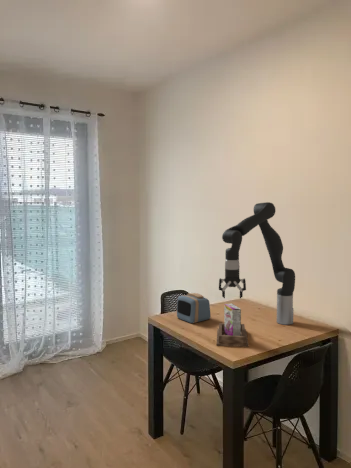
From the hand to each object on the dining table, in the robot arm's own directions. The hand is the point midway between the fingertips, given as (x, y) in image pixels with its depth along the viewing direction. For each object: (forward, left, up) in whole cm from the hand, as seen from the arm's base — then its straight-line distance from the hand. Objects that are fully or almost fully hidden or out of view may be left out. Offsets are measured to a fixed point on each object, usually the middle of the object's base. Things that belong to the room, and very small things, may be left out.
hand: (232, 298), depth 208 cm
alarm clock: (+23, -32, -22) cm, 45 cm away
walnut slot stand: (0, 0, -22) cm, 22 cm away
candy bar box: (0, 0, -21) cm, 21 cm away
